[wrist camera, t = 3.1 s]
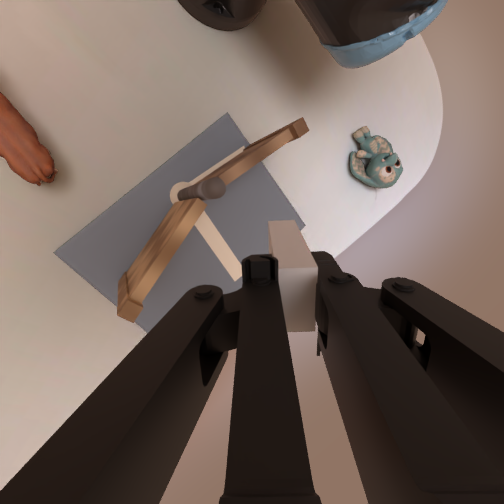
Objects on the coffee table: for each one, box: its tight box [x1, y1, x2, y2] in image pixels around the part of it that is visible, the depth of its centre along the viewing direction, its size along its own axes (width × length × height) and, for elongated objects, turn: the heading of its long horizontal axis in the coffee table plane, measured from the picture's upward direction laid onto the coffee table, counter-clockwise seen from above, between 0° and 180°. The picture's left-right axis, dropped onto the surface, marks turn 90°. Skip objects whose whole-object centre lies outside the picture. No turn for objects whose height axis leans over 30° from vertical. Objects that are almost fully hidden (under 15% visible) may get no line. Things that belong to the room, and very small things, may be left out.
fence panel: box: [117, 198, 207, 323], centre depth 33 cm, size 13×2×14 cm, turn 145°
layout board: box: [54, 112, 305, 333], centre depth 43 cm, size 30×22×1 cm
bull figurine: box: [0, 93, 58, 186], centre depth 29 cm, size 4×13×8 cm, turn 28°
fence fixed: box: [177, 117, 309, 201], centre depth 36 cm, size 14×2×16 cm, turn 125°
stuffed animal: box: [350, 126, 403, 188], centre depth 52 cm, size 11×7×12 cm
